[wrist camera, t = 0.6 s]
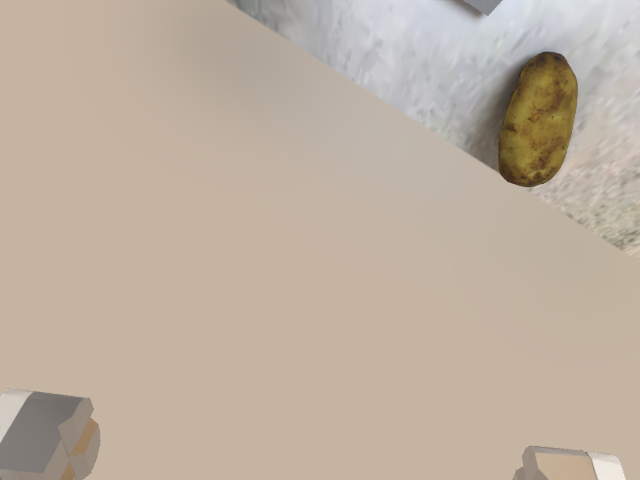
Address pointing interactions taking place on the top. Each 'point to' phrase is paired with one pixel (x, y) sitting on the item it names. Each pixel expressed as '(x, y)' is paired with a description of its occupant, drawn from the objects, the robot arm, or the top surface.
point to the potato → (538, 121)
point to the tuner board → (484, 5)
